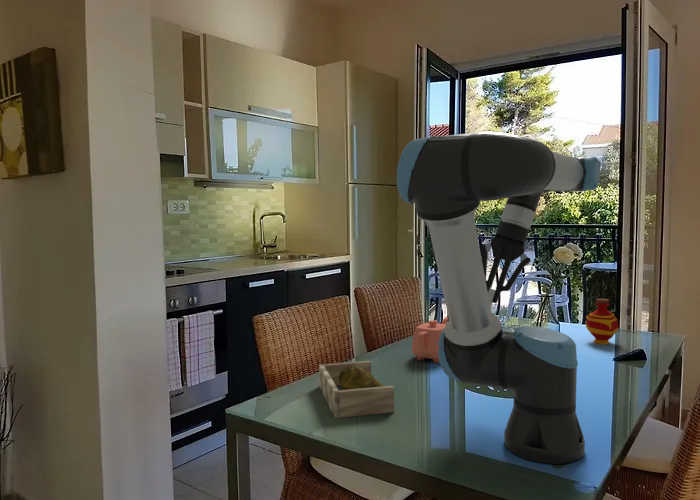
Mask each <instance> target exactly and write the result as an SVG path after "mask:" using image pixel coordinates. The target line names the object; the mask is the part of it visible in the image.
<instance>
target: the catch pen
mask: <svg viewBox="0 0 700 500" xmlns="http://www.w3.org/2000/svg"><path fill="white" fill-rule="evenodd" d="M349 366H356V367H360V368H362V369H363V370H365V371H366V372H368V373H369V374H371V375H372V361H371V360H363V361H361V360H360V361H359V360H358V361H350V362H336V363H334V362H333V363H322V364H318V380H319V381H318V383H319V386H318V387H319V389H320V391H321V393H322V394H323V397H324V399H325V401H326V402H327V405H328V407H329V408H330V411H331V413H332V415H333V417H334V419H339V418H349V417H359V416H369V415H370V416H371V415H378V414H388V413H395V387H394V385H383V386H382V387H371V388H360V389H349V390H343V389H340V390H339V388H338V387H341V385H340V383H339V374H340V372H341V371H342V370H343V369H345V368H347V367H349Z"/></svg>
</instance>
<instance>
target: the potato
mask: <svg viewBox="0 0 700 500" xmlns="http://www.w3.org/2000/svg"><path fill="white" fill-rule="evenodd" d="M339 383H340V385H341V386H340V387H341V390H349V389H360V388H371V387H382V386H384V384H382V383H381V382H380V381H379V380H378V379H376V378H375V376H374V375H372V373H371V374H369V373H368V372H366V371H365V370H363V369H362V368H360V367H356V366H349V367H347V368H345V369H343V370H342V371H341V372H340V374H339Z"/></svg>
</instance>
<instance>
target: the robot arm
mask: <svg viewBox="0 0 700 500" xmlns="http://www.w3.org/2000/svg"><path fill="white" fill-rule="evenodd" d="M600 178H601V165H600V162H599V159H598V157H597V156H585V155H583V156H576V157H575V156H570V155H566V154H564V153H563V154H562V153H559V152H555V151H552V150H551V148H550V147H549V146H547V145H546V144H545V143H543V142H541V141H539V140H536V139H532V138H528V137H525V136H521V135H516V134H513V133H512V134H511V133H506V132H497V131H481V132H479V131H478V132H471V133H459V134H451V135H450V134H449V135H437V136H435V135H430V136H428V137H423V138H416V139H412V141H409V142H408V143H407V144H406V145H405V147H404V149H402V152H401V154H400V156H399V161H398V164H397V169H396V187H397V191H398V194H399V196H400V198H401V199H402V200H403V201H404V202H406V203H408V204H414V206H415V211H416V215H417V218H419V219H420V220H422V221H423V222H426V223H427V225H428V227H427V228H428V231H429V235H430V240H431V245H432V249H433V254H434V258H435V263H436V266H437V271H438V275H439V280H440V284H441V289H442V294H443V298H444V302H445V308H446V312H447V317H448V320H447V324H446V325H445V328H444V330H443V331H442V333H441V335H440V338H439V343H438V346H439V351H438V357H439V362H440V363H439V365H440V367H441V369H442V371H443V372H444V374H445V375H446V376H447V377H448V378H449V379H452V380H455V381H458V382H461V383H466V384H472V385H473V384H474V385H478V386H484V387H489V388H496V389H500V390H504V391H505V390H506V391H511V392H513V406H512V409H511V412H510V415H509V417H508V421H507V422H506V425H505V428H504V432H503V433H504V435H503V440H504V441H503V443H504V446H505V447H506V449H507V450H509V451H510V452H511V453H512V454H514V455H516V456H518V457H521V458H523V459H525V460H529V461H532V462H537V463H541V464H549V465H551V464H552V465H555V464H556V465H561V464H569V462H570V463H574V462H577V461H579V460H581V459H582V458H583V457H584V456H585V449H586V448H585V447H586V442H585V441H586V440H585V437H584V434H583V431H582V427H581V425H580V422H579V418H578V415H577V412H576V411H577V409H576V408H577V372H578V370H577V369H578V366H579V365H578V364H579V363H578V360H577V359H578V356H577V345H576V342H575V341H574V340H573V338H571V337H570V336H568V335H567V334H565V333H563V332H561V331H559V330H555V329H552V328H549V327H548V328H547V327H542V326H531V325H523V326H521V325H520V326H517V327H515V329H514V331H513V332H510V331H504V330H503V327H502V326H503V325H502V322H501V320H500V318H499V317H498V315H496V314H494V313H492V310H491V309H492V305H493V304H497V303H498V302H499V299H500V295H501V293H502V292H508V291H510V290H511V288H512V286H513V285H514V283H515V282H516V280H517V279H518V277H519V275H520V274H521V273H522V272H523V271H522V270H523V269H524V268H525V267H526V266H528V265H529V264H530V263H531V258H530V257H528V256H527V254H526V253H525V252H526V251H525V245H526V241H527V239H528V236H529V233H530V232H529V229H530V228H531V226H532V225H533V224H532V223H533V221H534V218H535V215H536V212H537V209H538V205H539V203H540V200H541V198H542V195H543V193H550V192H588V191H595V190H596V189H597V188H598V187H599V184H600V180H601V179H600ZM504 199H506V202H505V205H504V208H503V211H502V213H501V218H500V219H501V221H500V222H499V223H498V225H497V229H496V231H495V235H494V237H493V238H492V240H491V241H490V242H487V243H481V244H479V237H478V232H477V227H476V226H477V225H476V219H475V212H476V211H477V210H478V208H479V207H480V205H481V202H489V201H490V202H491V201H497V200H504ZM491 249H492V253H493V256H494V259H493V263H492V266H491V269H490V272H489V273H488V271H487V269H488V260H489V258H488V257H489V252H490V251H491ZM520 257H521V258H520ZM518 258H520V259H519V261H520V262H519V264H518V265H517V266H516V268H515V270H514V271H513V273H512V274H511V276H510V277H509V279H508V281H507V282H506V278H507V276H508V273H509V268H510V267H511V264H512V262H514V261H515V260H518ZM501 261H504V263H503V266H502V269H501V272H500V275H499V278H498V281H497V284H496V287H495V289H493V288H492V287H493V284H494V280H495V278H496V276H497V272H498V269H499V266H500V263H501ZM487 273H488V274H489V275H488V278H487ZM505 282H506V284H505V285H504V283H505ZM578 459H579V460H578ZM576 460H577V461H576ZM573 461H574V462H573Z"/></svg>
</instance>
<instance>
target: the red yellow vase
mask: <svg viewBox="0 0 700 500" xmlns="http://www.w3.org/2000/svg"><path fill="white" fill-rule="evenodd" d="M595 300H596V302H595V305H596V306H597V309H595V310H594V311H593V312H592V311H591V312H590V313H589V314H588V315H586V316H585V318H586V321H585V322H584V323H585V328H586V329H587V331H588V332H589V333H590V335H592V336H593V337H594V338H595V339H594V340H593V343H594V344H599V345H610V344H611V343H610V341H609V340H610V339H612V338H613V337H614V336H615V334H617V332H618V331H619V322H618V319H617V317H616V316H615V313H614V312H612V311H611V310H608V307H610V299H607V298H596V299H595Z"/></svg>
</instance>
